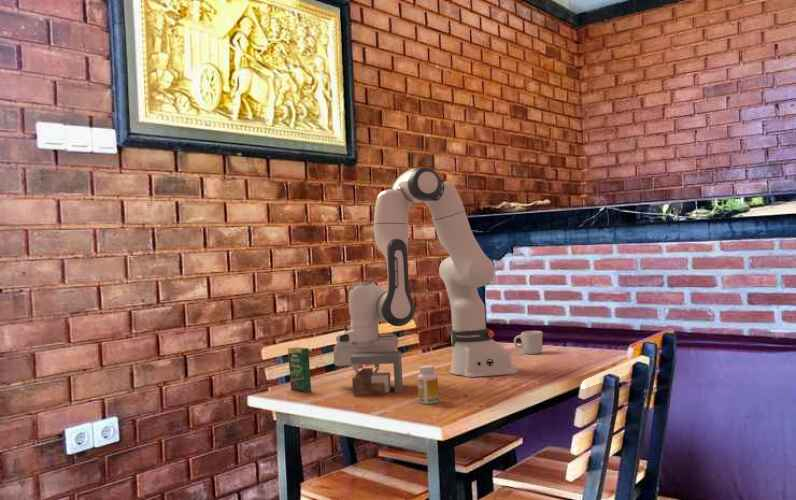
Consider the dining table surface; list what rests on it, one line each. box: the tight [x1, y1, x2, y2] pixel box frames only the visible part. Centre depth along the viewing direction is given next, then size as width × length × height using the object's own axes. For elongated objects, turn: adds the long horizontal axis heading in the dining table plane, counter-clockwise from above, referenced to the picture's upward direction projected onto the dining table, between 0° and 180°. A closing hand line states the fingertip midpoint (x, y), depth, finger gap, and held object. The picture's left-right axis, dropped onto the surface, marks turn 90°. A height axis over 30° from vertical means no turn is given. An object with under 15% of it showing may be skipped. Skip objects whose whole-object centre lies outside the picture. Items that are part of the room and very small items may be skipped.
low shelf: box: [351, 350, 404, 394], centre depth 193 cm, size 14×8×11 cm, turn 84°
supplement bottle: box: [417, 364, 440, 405], centre depth 176 cm, size 5×5×10 cm
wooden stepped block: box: [351, 367, 386, 397], centre depth 196 cm, size 9×16×5 cm, turn 171°
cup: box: [513, 330, 544, 355], centre depth 244 cm, size 11×8×8 cm
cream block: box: [371, 372, 392, 393], centre depth 193 cm, size 5×5×5 cm
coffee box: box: [287, 346, 312, 393], centre depth 201 cm, size 8×3×13 cm, turn 42°
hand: (367, 378), depth 202 cm, fingers closed on wooden stepped block, 3 cm apart
